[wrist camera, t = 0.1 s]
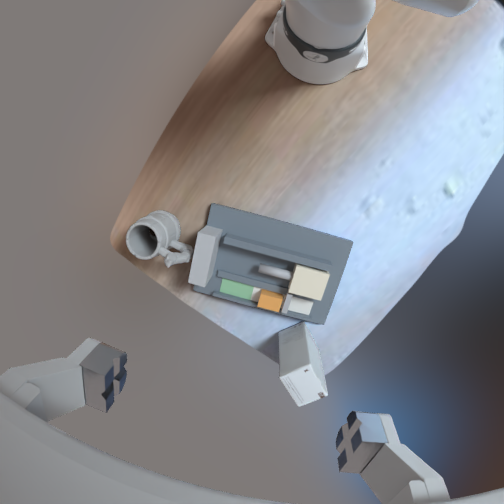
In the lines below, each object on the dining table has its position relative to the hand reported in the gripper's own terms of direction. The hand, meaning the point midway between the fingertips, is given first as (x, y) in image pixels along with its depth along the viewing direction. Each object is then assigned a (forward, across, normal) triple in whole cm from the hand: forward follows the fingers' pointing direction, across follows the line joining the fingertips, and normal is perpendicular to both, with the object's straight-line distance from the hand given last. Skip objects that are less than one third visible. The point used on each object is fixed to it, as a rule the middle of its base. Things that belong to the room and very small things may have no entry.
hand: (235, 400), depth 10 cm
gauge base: (+48, -2, +10) cm, 49 cm away
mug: (+48, +17, +10) cm, 52 cm away
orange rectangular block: (+47, -4, +16) cm, 49 cm away
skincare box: (+48, -12, +24) cm, 55 cm away
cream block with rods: (+46, -6, +13) cm, 49 cm away
